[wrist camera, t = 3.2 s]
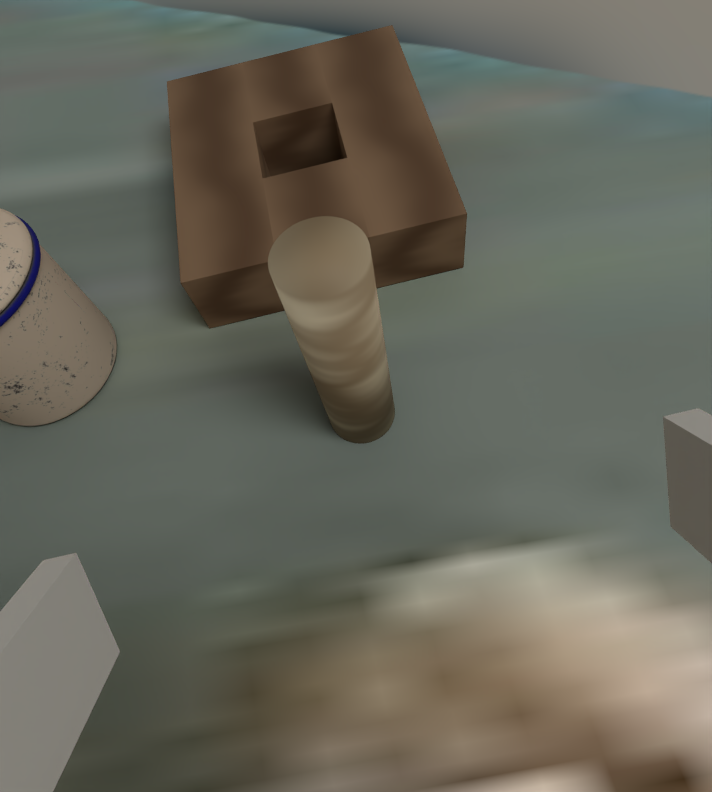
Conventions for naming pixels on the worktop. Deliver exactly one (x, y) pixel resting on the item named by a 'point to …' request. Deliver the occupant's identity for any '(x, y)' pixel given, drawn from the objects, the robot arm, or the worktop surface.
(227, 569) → the worktop surface
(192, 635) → the worktop surface
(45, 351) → the teacup with lid
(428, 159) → the walnut hole block
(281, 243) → the birch pin
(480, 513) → the worktop surface
